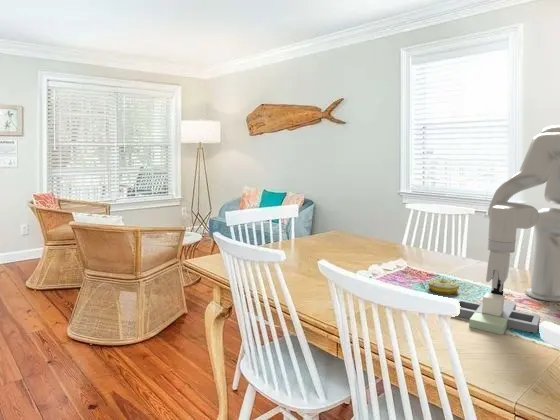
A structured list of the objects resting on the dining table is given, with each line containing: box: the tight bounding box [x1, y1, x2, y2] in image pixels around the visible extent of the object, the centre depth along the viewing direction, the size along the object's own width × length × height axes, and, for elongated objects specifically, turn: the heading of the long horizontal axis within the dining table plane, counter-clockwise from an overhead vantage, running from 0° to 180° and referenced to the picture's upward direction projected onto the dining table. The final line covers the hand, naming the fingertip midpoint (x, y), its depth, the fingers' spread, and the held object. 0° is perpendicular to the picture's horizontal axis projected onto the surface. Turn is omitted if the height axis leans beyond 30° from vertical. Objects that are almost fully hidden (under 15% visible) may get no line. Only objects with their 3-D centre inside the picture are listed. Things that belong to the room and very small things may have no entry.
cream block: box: [482, 292, 505, 316], centre depth 132 cm, size 5×5×5 cm
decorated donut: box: [428, 277, 460, 295], centre depth 159 cm, size 10×11×4 cm
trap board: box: [456, 298, 541, 336], centre depth 134 cm, size 23×24×2 cm
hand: (496, 302), depth 136 cm, fingers closed
